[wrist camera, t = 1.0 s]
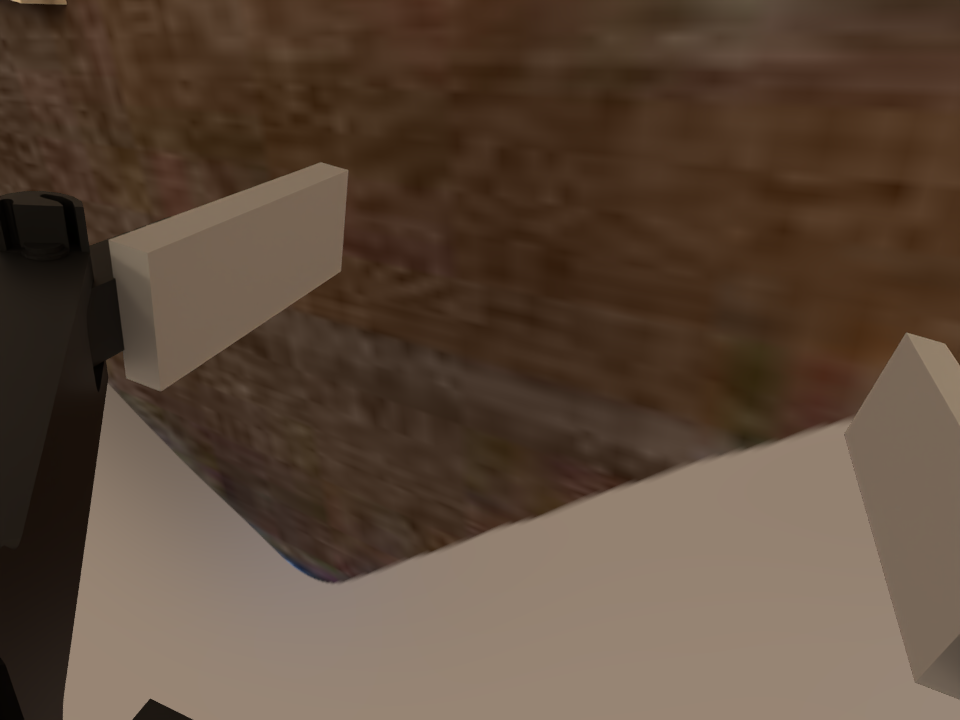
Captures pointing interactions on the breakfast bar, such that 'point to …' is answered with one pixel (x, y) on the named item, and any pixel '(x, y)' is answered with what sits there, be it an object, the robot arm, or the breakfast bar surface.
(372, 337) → the breakfast bar surface
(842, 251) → the breakfast bar surface
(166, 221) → the robot arm
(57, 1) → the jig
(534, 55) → the breakfast bar surface
